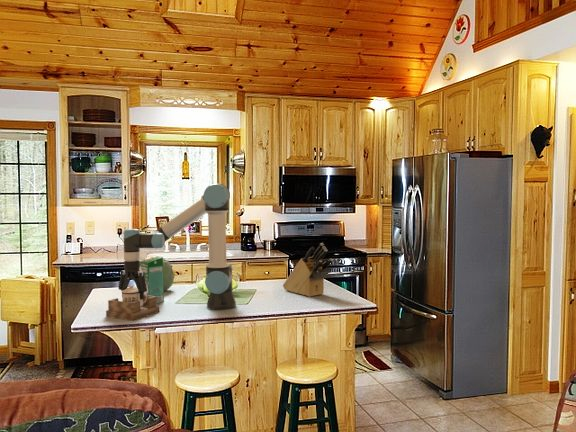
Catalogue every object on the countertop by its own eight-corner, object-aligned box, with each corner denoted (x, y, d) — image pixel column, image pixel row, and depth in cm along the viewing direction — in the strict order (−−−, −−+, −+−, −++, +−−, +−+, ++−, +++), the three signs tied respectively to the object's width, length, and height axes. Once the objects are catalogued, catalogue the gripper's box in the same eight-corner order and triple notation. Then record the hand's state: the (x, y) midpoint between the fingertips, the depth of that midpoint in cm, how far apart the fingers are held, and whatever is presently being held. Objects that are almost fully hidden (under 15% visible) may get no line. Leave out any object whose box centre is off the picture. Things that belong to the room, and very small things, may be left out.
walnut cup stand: (159, 311, 255) (159, 296, 255) (132, 320, 238) (131, 303, 238) (134, 308, 263) (133, 293, 262) (106, 316, 246) (105, 300, 246)
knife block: (319, 300, 279) (319, 244, 278) (282, 290, 308) (281, 239, 306) (334, 297, 286) (334, 243, 284) (296, 287, 314) (296, 238, 313)
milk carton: (140, 301, 279) (139, 257, 277) (155, 299, 285) (154, 255, 284) (149, 304, 272) (148, 258, 271) (163, 301, 279) (162, 256, 277)
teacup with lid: (121, 311, 244) (120, 287, 244) (123, 307, 253) (122, 284, 252) (146, 309, 247) (146, 286, 246) (147, 305, 256) (147, 283, 255)
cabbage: (149, 295, 296) (149, 261, 295) (147, 289, 314) (146, 257, 313) (176, 293, 301) (176, 260, 300) (173, 287, 319) (172, 256, 318)
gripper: (154, 260, 248) (155, 305, 249) (121, 257, 257) (122, 301, 259) (143, 262, 241) (144, 308, 242) (110, 259, 251) (111, 304, 252)
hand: (132, 304), depth 250 cm, fingers open, 9 cm apart
